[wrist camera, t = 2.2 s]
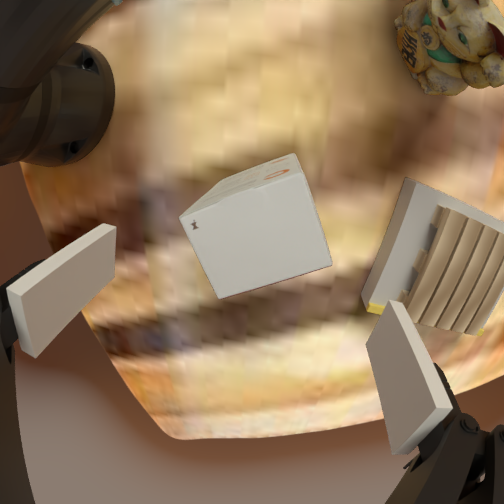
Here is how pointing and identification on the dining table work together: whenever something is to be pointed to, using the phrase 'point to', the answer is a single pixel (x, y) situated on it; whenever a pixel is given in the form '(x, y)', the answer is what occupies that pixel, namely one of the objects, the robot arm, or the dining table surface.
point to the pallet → (456, 274)
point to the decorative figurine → (452, 44)
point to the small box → (257, 228)
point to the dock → (412, 242)
